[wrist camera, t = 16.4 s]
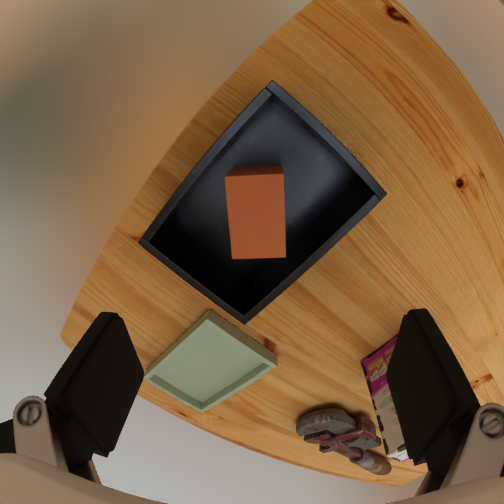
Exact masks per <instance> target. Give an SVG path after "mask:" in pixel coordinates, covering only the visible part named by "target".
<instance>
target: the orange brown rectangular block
mask: <svg viewBox="0 0 504 504" xmlns="http://www.w3.org/2000/svg"><path fill="white" fill-rule="evenodd" d="M225 189H226V200H227V210H228V221H229V231H230V241H231V251H232V259H253V258H285V257H286V233H285V197H284V174H283V170H282V166H281V163H275V164H253V165H236V166H233V167H232V169H231V170H230V171H229V172H228V173H227V175H226V176H225Z"/></svg>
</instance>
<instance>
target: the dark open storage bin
mask: <svg viewBox="0 0 504 504" xmlns="http://www.w3.org/2000/svg"><path fill="white" fill-rule="evenodd" d="M275 163H281V166H282V170H283V174H284V197H285V233H286V257H285V258H253V259H232V251H231V241H230V231H229V221H228V210H227V200H226V189H225V176H226V175H227V173H228V172H229V171H230V170H231V169H232V167H233V166H236V165H253V164H275ZM386 195H387V193H386V192H385V191H384V189H383V188H382V187H381V186H380V185H379V183H378V182H377V181H376V180H375V179H374V178H373V177H372V175H371V174H370V173H369V172H368V171H367V170H366V169H365V168H364V167H363V165H362V164H361V163H360V162H359V161H358V160H357V159H356V158H355V157H354V156H353V155H352V154H351V153H350V152H349V150H348V149H347V148H346V147H345V146H344V145H343V144H342V143H341V142H340V141H339V140H338V139H337V138H336V137H335V136H334V135H333V134H332V133H331V132H330V131H329V130H328V129H327V128H326V127H325V126H324V125H323V124H322V123H320V122H319V121H318V120H317V119H316V118H315V117H314V116H313V115H312V114H311V113H310V112H309V111H308V110H307V109H305V108H304V107H303V106H302V105H301V104H300V103H299V102H298V101H297V100H295V99H294V98H293V97H292V96H291V95H290V94H289V93H287V92H286V91H285V90H284V89H283V88H281V87H280V86H279V85H278V84H277V83H275V82H274V81H273V80H272V81H271V82H270V83H269V84H268V85H267V86H266V87H265V88H264V89H263V90H262V91H261V92H260V93H259V94H258V95H257V96H256V97H255V98H254V99H253V100H252V101H251V102H250V103H249V105H248V106H247V107H246V108H245V109H244V110H243V111H242V112H241V113H240V114H239V115H238V117H237V118H236V119H235V120H234V121H233V122H232V123H231V124H230V125H229V127H228V128H227V129H226V130H225V131H224V132H223V133H222V135H221V136H220V137H219V138H218V139H217V140H216V142H215V143H214V144H213V145H212V146H211V147H210V149H209V150H208V151H207V152H206V153H205V155H204V156H203V157H202V158H201V160H200V161H199V162H198V163H197V164H196V166H195V167H194V168H193V169H192V171H191V172H190V173H189V174H188V176H187V177H186V178H185V179H184V181H183V182H182V183H181V185H180V186H179V187H178V188H177V190H176V191H175V192H174V194H173V195H172V196H171V198H170V199H169V200H168V202H167V203H166V204H165V206H164V207H163V208H162V210H161V211H160V212H159V214H158V215H157V216H156V218H155V219H154V221H153V222H152V223H151V225H150V226H149V228H148V229H147V230H146V232H145V233H144V235H143V237H142V238H141V239H140V240H139V242H138V244H140V245H141V246H142V247H143V248H145V249H146V250H147V251H148V252H149V253H151V254H152V255H153V256H154V257H156V258H157V259H158V260H159V261H161V262H162V263H163V264H164V265H166V266H167V267H168V268H169V269H171V270H172V271H173V272H174V273H176V274H177V275H178V276H180V277H181V278H182V279H183V280H185V281H186V282H187V283H189V284H190V285H191V286H193V287H194V288H195V289H197V290H198V291H199V292H200V293H202V294H203V295H204V296H206V297H207V298H208V299H210V300H211V301H213V302H214V303H215V304H217V305H218V306H219V307H221V308H222V309H223V310H225V311H226V312H227V313H229V314H230V315H232V316H233V317H234V318H236V319H237V320H239V321H240V322H241V323H243V324H244V325H245V324H246V323H247V322H248V321H250V320H251V319H252V318H253V317H254V316H256V315H257V314H258V313H259V312H260V311H261V310H263V309H264V308H265V307H266V306H267V305H268V304H270V303H271V302H272V301H273V300H274V299H275V298H277V297H278V296H279V295H280V294H281V293H282V292H283V291H284V290H286V289H287V288H288V287H289V286H290V285H291V284H292V283H294V282H295V281H296V280H297V279H298V278H299V277H300V276H301V275H302V274H304V273H305V272H306V271H307V270H308V269H309V268H310V267H311V266H312V265H313V264H315V263H316V262H317V261H318V260H319V259H320V258H321V257H322V256H323V255H324V254H325V253H327V252H328V251H329V250H330V249H331V248H332V247H333V246H334V245H335V244H336V243H337V242H338V241H339V240H340V239H342V238H343V237H344V236H345V235H346V234H347V233H348V232H349V231H350V230H351V229H352V228H353V227H354V226H355V225H356V224H357V223H358V222H359V221H360V220H361V219H362V218H363V217H365V216H366V215H367V214H368V213H369V212H370V211H371V210H372V209H373V208H374V207H375V206H376V205H377V204H378V203H379V202H380V200H382V199H383V198H384V197H385V196H386Z"/></svg>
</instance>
